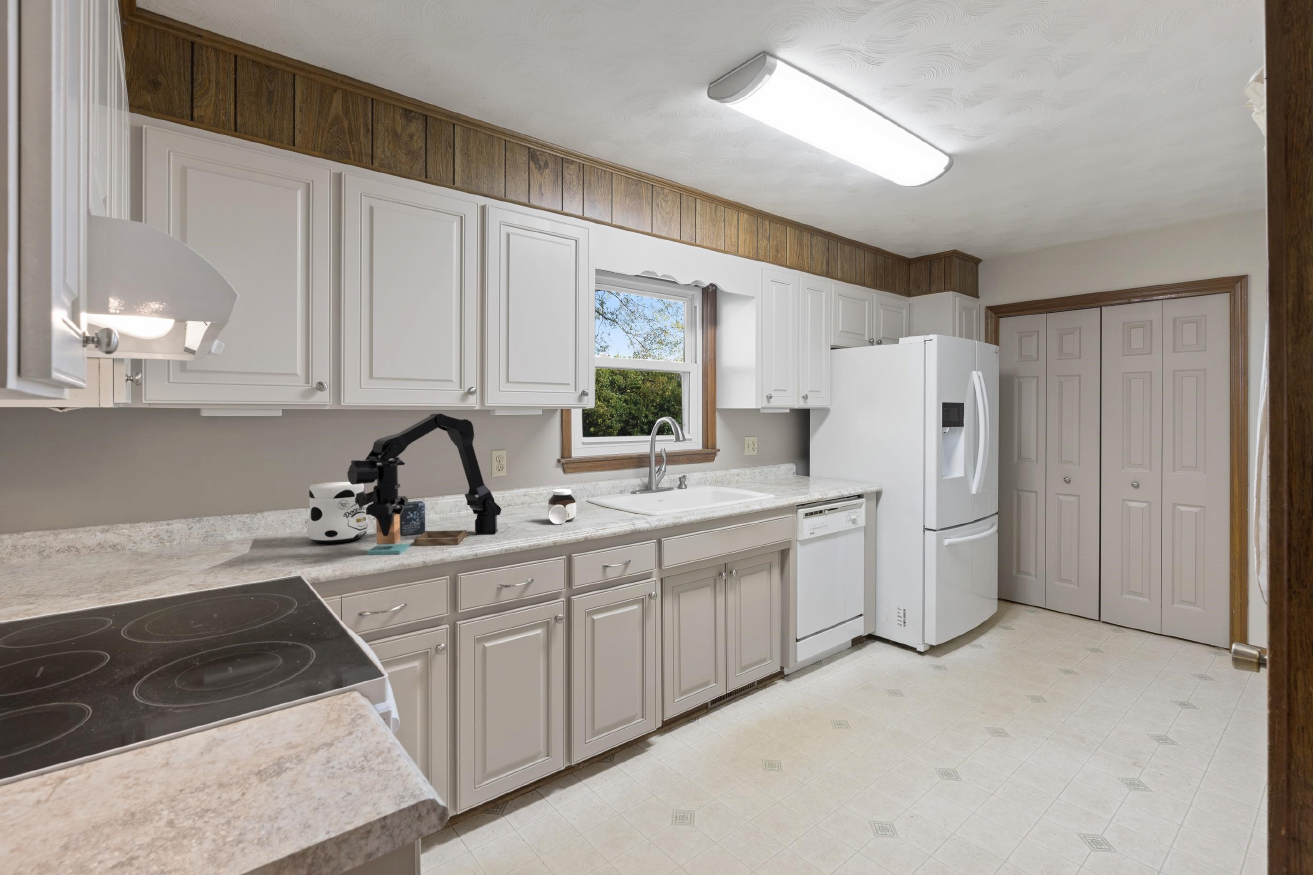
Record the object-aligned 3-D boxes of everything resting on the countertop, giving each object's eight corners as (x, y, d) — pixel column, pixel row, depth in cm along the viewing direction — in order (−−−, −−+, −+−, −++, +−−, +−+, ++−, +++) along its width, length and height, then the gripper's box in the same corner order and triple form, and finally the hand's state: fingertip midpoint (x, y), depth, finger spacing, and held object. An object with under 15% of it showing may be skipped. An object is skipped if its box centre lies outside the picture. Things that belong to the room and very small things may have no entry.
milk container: (370, 542, 193) (369, 485, 192) (306, 548, 184) (305, 488, 183) (366, 533, 208) (365, 480, 207) (307, 538, 199) (305, 483, 198)
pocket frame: (467, 536, 202) (466, 530, 202) (458, 544, 189) (458, 538, 189) (426, 537, 201) (426, 530, 201) (414, 545, 188) (414, 539, 188)
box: (401, 536, 202) (400, 504, 202) (397, 533, 207) (397, 502, 206) (425, 533, 207) (425, 502, 206) (421, 531, 211) (421, 500, 211)
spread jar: (570, 518, 236) (570, 488, 236) (582, 522, 227) (582, 491, 226) (540, 521, 230) (540, 490, 230) (552, 526, 220) (551, 493, 220)
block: (400, 540, 184) (399, 513, 183) (394, 544, 179) (394, 516, 178) (382, 540, 183) (382, 514, 183) (376, 544, 178) (376, 517, 178)
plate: (409, 547, 186) (409, 543, 186) (399, 554, 177) (399, 550, 177) (378, 547, 185) (378, 544, 185) (367, 554, 176) (367, 551, 176)
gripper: (370, 478, 189) (371, 528, 189) (345, 485, 170) (347, 541, 171) (407, 477, 190) (409, 527, 190) (387, 485, 171) (388, 540, 172)
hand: (388, 534), depth 181 cm, fingers closed on block, 5 cm apart
